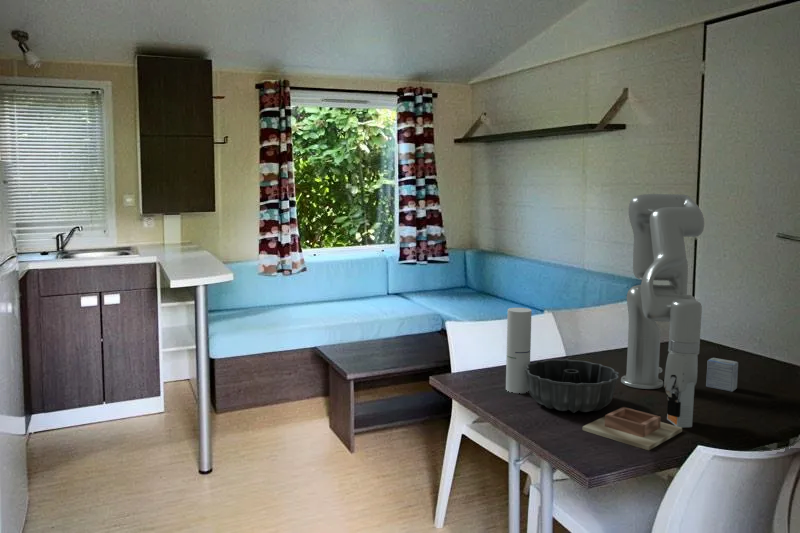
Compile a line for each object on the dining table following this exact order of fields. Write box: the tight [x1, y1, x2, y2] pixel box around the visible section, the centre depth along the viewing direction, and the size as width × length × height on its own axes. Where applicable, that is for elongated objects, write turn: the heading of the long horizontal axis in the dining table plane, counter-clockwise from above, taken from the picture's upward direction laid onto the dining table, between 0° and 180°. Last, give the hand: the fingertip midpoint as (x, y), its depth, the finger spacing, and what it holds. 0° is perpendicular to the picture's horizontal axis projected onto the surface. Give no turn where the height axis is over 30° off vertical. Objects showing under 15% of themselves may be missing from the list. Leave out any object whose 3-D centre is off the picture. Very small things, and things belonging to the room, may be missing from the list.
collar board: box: [582, 406, 683, 451], centre depth 176 cm, size 18×18×4 cm
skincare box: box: [666, 382, 696, 428], centre depth 180 cm, size 6×4×12 cm
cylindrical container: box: [505, 307, 533, 394], centre depth 208 cm, size 7×7×25 cm
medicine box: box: [705, 357, 739, 392], centre depth 211 cm, size 8×4×9 cm, turn 47°
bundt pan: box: [524, 358, 620, 414], centre depth 197 cm, size 26×26×10 cm
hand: (680, 411), depth 181 cm, fingers closed on skincare box, 6 cm apart
